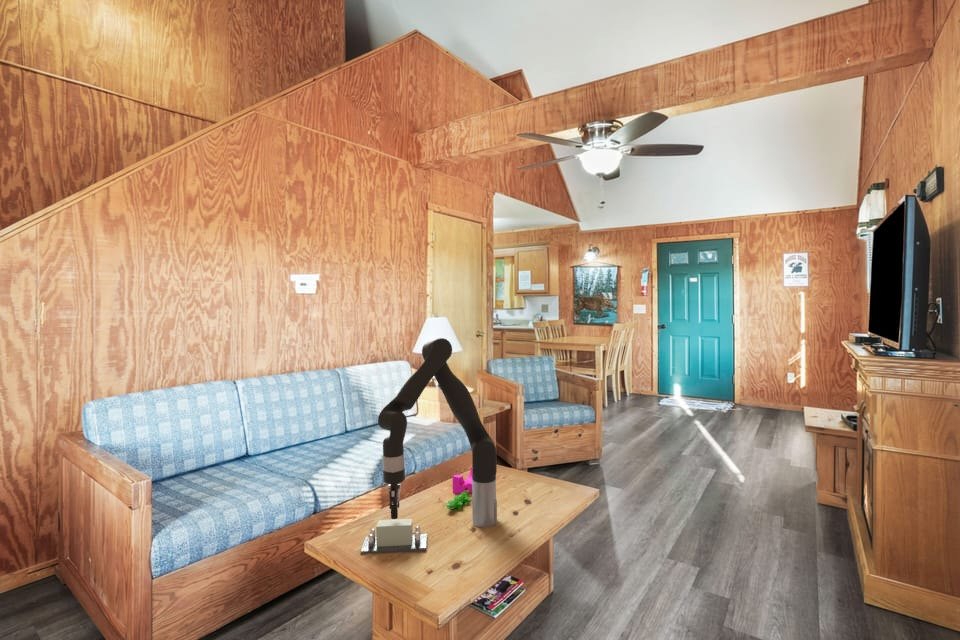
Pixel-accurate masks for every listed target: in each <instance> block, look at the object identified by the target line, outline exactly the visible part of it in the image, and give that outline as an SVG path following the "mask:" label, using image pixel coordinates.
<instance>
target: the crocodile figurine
mask: <svg viewBox="0 0 960 640" xmlns="http://www.w3.org/2000/svg"><path fill="white" fill-rule="evenodd" d="M468 492H469V490H465V491H464V493H463V492H462V493H461V494H460V495H459V494H457V495H456V496H454V497H453V498H454V499H451V500H448V501H447V503H446V504H445V506H446V508H447V509H448V512H451V510H455V509H456V510H462V508H463V507H462V506H463V504H464V505H468V504H469V501H470V498H472V494H470V493H468ZM467 493H468V494H467Z"/></svg>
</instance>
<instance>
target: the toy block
mask: <svg viewBox="0 0 960 640" xmlns="http://www.w3.org/2000/svg"><path fill="white" fill-rule="evenodd" d="M463 476H464V475H460V474H454V475H452V493H453V494H456V495H460V494H461V493H462V492H463V493H464V491H465V490H469V492H468V493H467V494H468V495H469V494H470V493H472V467H470V472H469V474H468V476H467V478H466V479H465V478H464V477H463Z"/></svg>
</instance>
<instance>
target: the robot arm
mask: <svg viewBox="0 0 960 640" xmlns="http://www.w3.org/2000/svg"><path fill="white" fill-rule="evenodd" d="M452 353H453V345H452V344H451V342H450V341H449V340H448V339H446V338H444V337H440V338H434V339H432V340H430V341H427V342H425V343H424V344H423V346H422V349H421V355H422V358H423V360H424V361H423V363H422V364H421V365H420V366H419V368H418V369H417V370H416V371H415V372H414V373H413V374H412V375H410V377H409V378H408V379H407V380H406V382H404V385H402V387H401V389H400V390H399V392H398V393H397V395H396V396H395V397H394V398H393V399H392V400H390V402H388V403H387V404H386V405H385V406H384V407H383V408H382V410H381V411H380V412H379V413H378V417H377V424H378V426H379V427H380V428H381V429H382V430H386V431H389V436H386V437H385V438H384V439H383V441H382V453H383V455H382V476H383V477H382V480H383V483H385V484H388V489H387V490H388V501H389V505H388V506H389V507H388V508H389V510H390V520H393V519H399V513H398V512H399V511H398V509H399V508H400V495H401V485H402V483H403V482H404V481H405V480H406V467H405V465H406V463H405V462H406V461H405V454H404V453H405V452H404V451H405V450H404V441H405V437H406V433H407V426H408V419H407V416H406V415H405V413H404V412H405V411H409V410H411V409H413V408H414V406H415V404H416V403H417V402H418V400H419V398H420V397H421V395H422V393H423V392H424V390H425V389H426V387H427V386H428V385H429V383H430V381H431V380H432V379H433V378H435V380H436V382H437V384H438V387H439V389H440V390H441V392H442V394H443V396H444V398H445V400H446V402H447V405H448V406H449V407H448V408H449V409H450V411H451V412H452V415H453V416H454V417H455V419H456V421H457V422H458V423H459V424H460V426H461V427H462V429H463V431H464V433H465V435H466V437H467V440H468V442H469V445H470V449H471V453H472V457H471V458H472V467H471V468H472V492H471V493H472V494H471V499H472V500H471V501H472V502H471V503H472V504H471V505H472V512H471V513H472V517H471V518H472V525H474V526H475V527H478V528H481V529H483V528H484V529H486V528H488V529H489V528H492V527H494V525H495V526H498V500H497V462H498V461H497V459H498V458H497V447H496V445H495V442H494V440H493V439H492V438H491V436H490V434H489V433H488V432H487V429H486V428H485V427H484V426H485V425H483V423H482V420H481V418H480V416H479V412H478V409H477V407H476V404H475V401H474V399H473V398H472V397H473V396H472V395H471V393H470V391H469V389H468V388H467V386H466V385H465V384H464V383H463V382H462V380H460V379H459V378H458V377H457V376H456V375H455V374H454V372H453V371H452V370H451V368H450V366H449V365H448V363H447V361H448V360H450V358H451V356H452Z"/></svg>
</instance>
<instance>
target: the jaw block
mask: <svg viewBox="0 0 960 640" xmlns="http://www.w3.org/2000/svg"><path fill="white" fill-rule="evenodd" d="M375 536H376V542H377V547H380V546H402V545H412V539H413V518H397V519H379V520H377V523H376V528H375Z"/></svg>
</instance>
